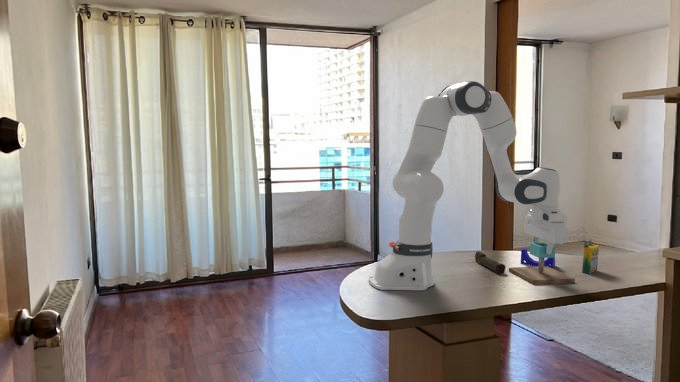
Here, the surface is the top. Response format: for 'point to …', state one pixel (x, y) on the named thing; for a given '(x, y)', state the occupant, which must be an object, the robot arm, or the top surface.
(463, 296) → the top surface
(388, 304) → the top surface
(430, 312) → the top surface
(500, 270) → the dark brown rod
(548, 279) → the post stand
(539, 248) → the collar
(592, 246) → the crayon box
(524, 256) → the blue curved cradle
